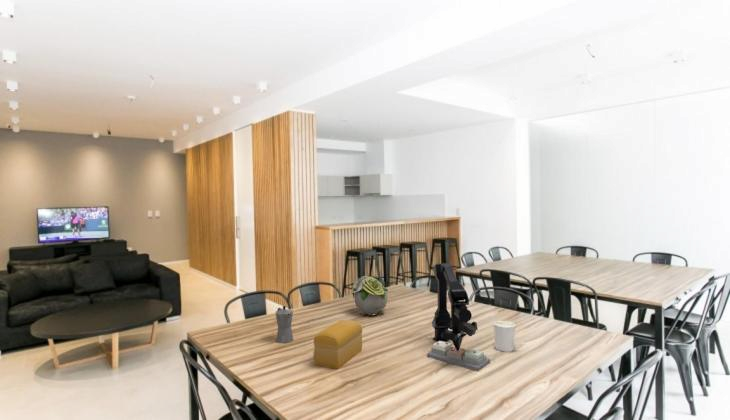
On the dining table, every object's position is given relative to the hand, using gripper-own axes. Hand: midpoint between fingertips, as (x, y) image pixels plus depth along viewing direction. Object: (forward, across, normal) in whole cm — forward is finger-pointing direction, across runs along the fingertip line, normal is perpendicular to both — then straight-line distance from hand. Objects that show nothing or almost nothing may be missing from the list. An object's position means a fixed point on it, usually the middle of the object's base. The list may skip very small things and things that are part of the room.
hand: (457, 349), depth 179 cm
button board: (+4, 0, 0) cm, 4 cm away
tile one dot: (+2, 0, -8) cm, 8 cm away
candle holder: (+5, +26, -11) cm, 29 cm away
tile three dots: (+3, 0, 0) cm, 3 cm away
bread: (+5, -32, +44) cm, 55 cm away
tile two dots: (+2, 0, +8) cm, 8 cm away
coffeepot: (+4, -34, +83) cm, 90 cm away
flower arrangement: (+5, +31, +78) cm, 84 cm away
